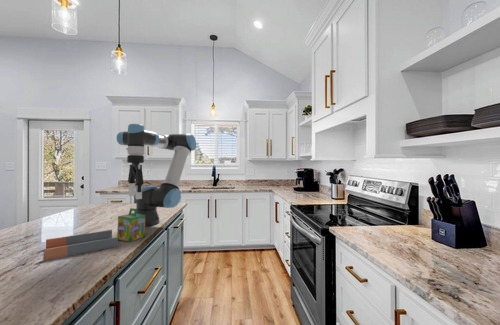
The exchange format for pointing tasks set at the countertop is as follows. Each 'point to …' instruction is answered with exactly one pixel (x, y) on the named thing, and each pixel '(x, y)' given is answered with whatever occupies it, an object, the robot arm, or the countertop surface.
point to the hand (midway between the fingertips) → (135, 197)
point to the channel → (79, 244)
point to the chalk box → (131, 226)
